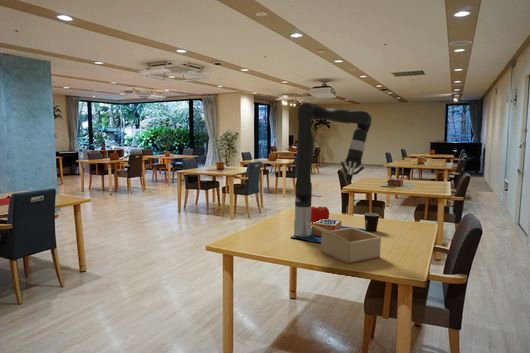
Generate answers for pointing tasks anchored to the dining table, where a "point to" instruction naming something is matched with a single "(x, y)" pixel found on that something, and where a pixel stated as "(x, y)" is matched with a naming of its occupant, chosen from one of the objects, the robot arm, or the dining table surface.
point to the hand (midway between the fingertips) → (348, 181)
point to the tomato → (319, 213)
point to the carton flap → (327, 231)
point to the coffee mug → (371, 222)
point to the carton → (351, 245)
